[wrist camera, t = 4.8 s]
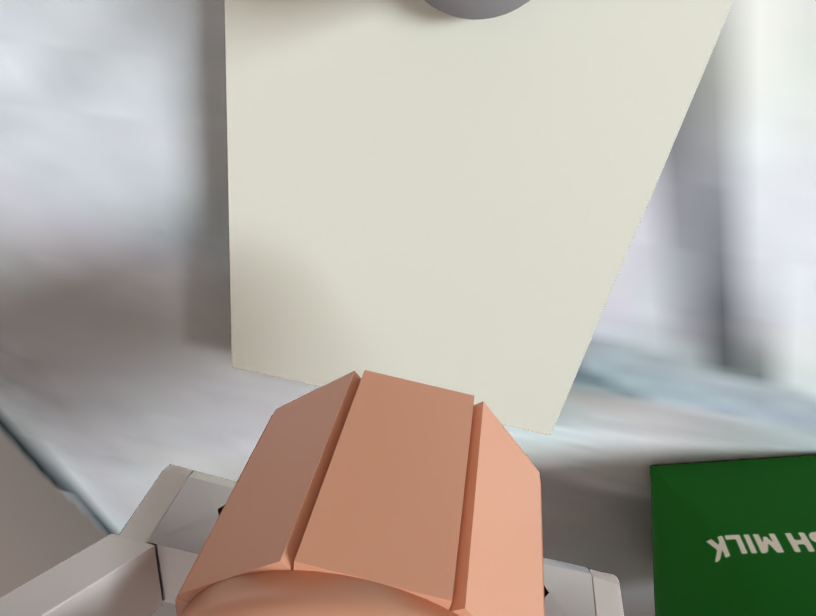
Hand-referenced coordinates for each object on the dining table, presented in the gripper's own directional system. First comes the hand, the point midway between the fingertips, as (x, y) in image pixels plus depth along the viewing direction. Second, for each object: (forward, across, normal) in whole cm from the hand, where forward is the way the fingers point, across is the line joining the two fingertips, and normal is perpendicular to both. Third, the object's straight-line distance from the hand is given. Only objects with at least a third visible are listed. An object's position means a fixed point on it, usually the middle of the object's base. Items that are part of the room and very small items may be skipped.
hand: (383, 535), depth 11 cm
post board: (+11, +1, -5) cm, 12 cm away
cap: (+1, 0, 0) cm, 1 cm away
